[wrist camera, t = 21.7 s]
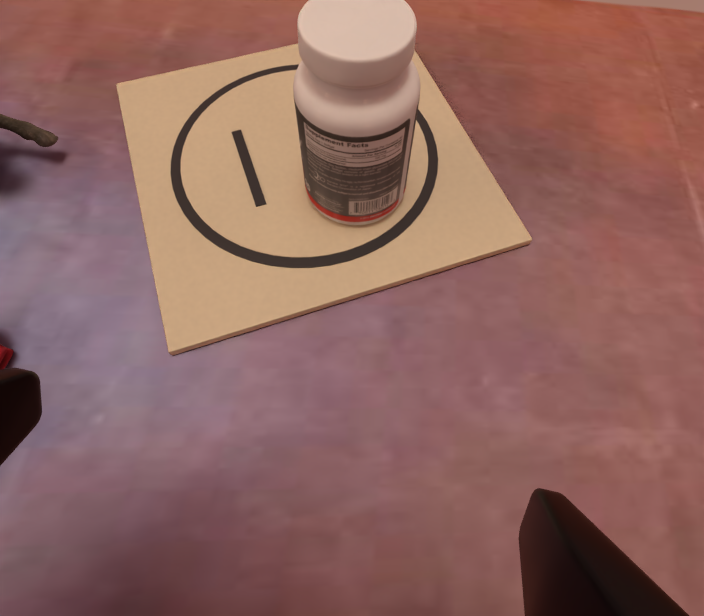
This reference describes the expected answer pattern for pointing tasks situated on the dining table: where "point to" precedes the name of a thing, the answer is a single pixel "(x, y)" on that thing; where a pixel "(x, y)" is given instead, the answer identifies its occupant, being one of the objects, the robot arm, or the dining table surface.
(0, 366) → the dish towel
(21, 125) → the dog figurine
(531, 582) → the robot arm
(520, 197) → the dining table surface
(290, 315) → the board
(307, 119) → the pill bottle
